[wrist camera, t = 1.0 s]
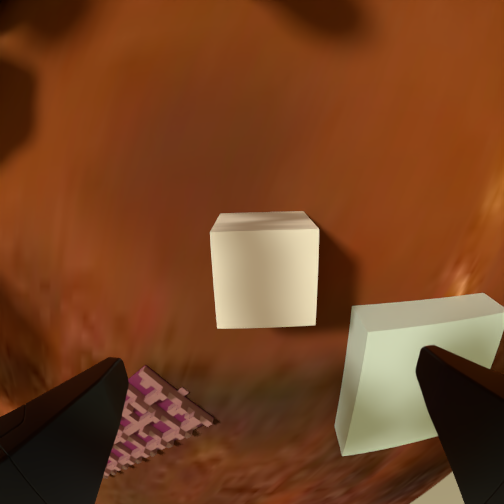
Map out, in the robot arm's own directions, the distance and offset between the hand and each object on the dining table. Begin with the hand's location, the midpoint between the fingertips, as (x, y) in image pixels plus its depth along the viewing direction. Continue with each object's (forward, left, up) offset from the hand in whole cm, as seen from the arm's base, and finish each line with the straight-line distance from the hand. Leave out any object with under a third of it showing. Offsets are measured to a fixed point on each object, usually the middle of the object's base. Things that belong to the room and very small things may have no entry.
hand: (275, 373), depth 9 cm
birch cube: (0, 0, -12) cm, 12 cm away
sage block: (-12, +10, -12) cm, 20 cm away
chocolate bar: (+13, +17, -13) cm, 25 cm away
